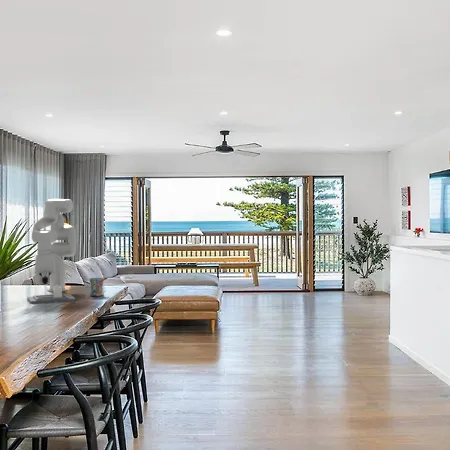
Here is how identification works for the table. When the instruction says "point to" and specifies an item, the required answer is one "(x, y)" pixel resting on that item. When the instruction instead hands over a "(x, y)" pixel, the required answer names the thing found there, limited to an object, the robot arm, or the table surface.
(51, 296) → the switch bank
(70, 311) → the table surface
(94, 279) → the mug
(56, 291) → the tab
